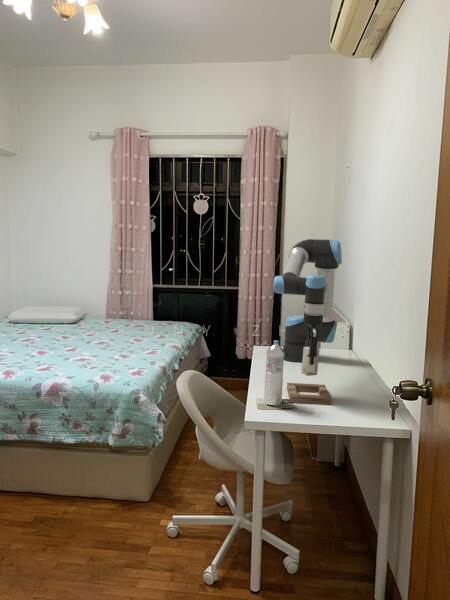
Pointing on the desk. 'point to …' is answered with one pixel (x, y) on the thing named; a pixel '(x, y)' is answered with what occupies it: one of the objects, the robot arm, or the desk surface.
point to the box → (305, 362)
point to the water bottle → (274, 375)
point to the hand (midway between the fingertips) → (309, 369)
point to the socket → (304, 398)
